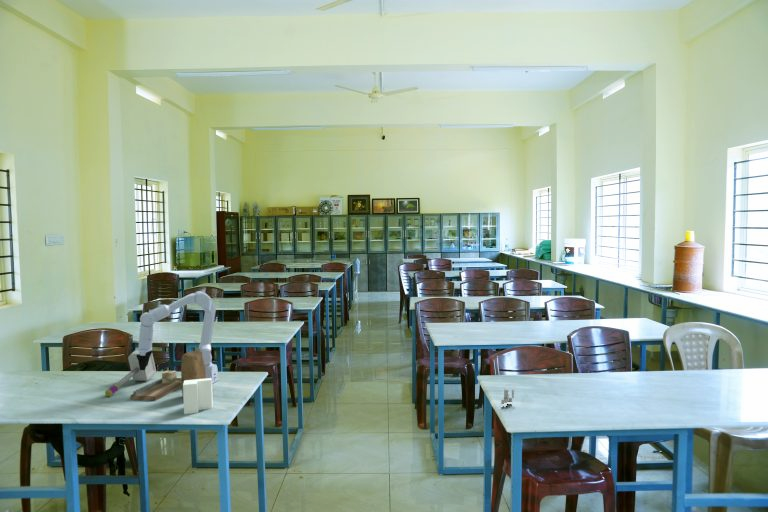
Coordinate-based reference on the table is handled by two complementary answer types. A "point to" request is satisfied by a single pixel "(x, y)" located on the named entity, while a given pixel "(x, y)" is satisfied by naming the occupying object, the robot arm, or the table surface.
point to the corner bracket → (197, 395)
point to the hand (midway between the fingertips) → (143, 368)
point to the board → (155, 390)
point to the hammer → (135, 372)
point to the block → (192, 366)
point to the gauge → (169, 377)
